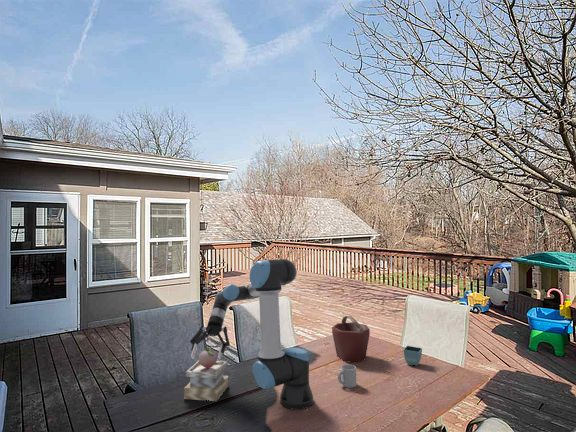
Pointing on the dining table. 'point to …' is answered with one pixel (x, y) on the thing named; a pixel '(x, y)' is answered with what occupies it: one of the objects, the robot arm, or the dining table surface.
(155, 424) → the dining table surface
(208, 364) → the decorative fruit
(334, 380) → the dining table surface
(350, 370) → the cup
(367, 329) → the bucket
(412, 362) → the flower pot
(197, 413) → the dining table surface
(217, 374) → the block tower
